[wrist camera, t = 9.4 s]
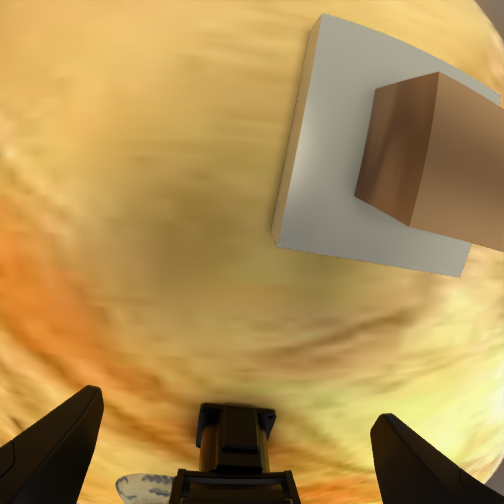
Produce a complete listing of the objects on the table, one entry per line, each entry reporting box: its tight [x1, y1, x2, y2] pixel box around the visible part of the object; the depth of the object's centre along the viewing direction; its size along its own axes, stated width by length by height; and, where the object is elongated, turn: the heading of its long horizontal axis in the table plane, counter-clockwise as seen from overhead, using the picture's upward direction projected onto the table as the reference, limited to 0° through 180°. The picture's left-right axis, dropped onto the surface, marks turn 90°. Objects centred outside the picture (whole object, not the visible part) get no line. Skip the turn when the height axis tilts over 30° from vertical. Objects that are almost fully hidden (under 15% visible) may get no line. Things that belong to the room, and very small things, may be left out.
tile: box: [271, 13, 501, 278], centre depth 17 cm, size 13×13×3 cm
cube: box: [354, 72, 504, 252], centre depth 13 cm, size 6×6×6 cm
